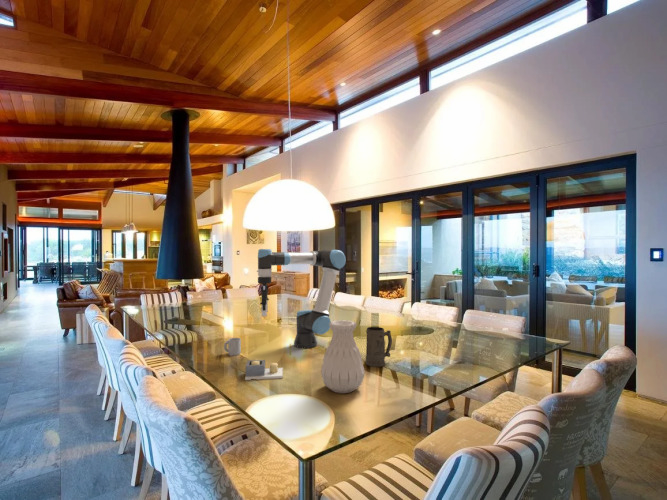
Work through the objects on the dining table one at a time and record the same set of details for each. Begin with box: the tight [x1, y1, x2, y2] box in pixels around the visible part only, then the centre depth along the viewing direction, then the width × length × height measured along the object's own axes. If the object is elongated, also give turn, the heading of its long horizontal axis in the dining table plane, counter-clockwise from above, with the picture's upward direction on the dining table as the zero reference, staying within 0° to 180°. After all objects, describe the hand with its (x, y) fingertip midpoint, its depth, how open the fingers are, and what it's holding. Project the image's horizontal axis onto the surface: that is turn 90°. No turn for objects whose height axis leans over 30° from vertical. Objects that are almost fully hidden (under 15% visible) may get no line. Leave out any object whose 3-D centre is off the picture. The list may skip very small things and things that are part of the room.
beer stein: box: [365, 326, 393, 368], centre depth 199 cm, size 15×11×20 cm
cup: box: [223, 337, 242, 357], centre depth 216 cm, size 7×10×9 cm
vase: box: [320, 319, 366, 394], centre depth 163 cm, size 20×20×30 cm
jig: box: [244, 361, 284, 381], centre depth 180 cm, size 18×12×7 cm, turn 98°
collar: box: [245, 359, 266, 376], centre depth 180 cm, size 9×9×5 cm
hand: (264, 314), depth 202 cm, fingers open, 13 cm apart
